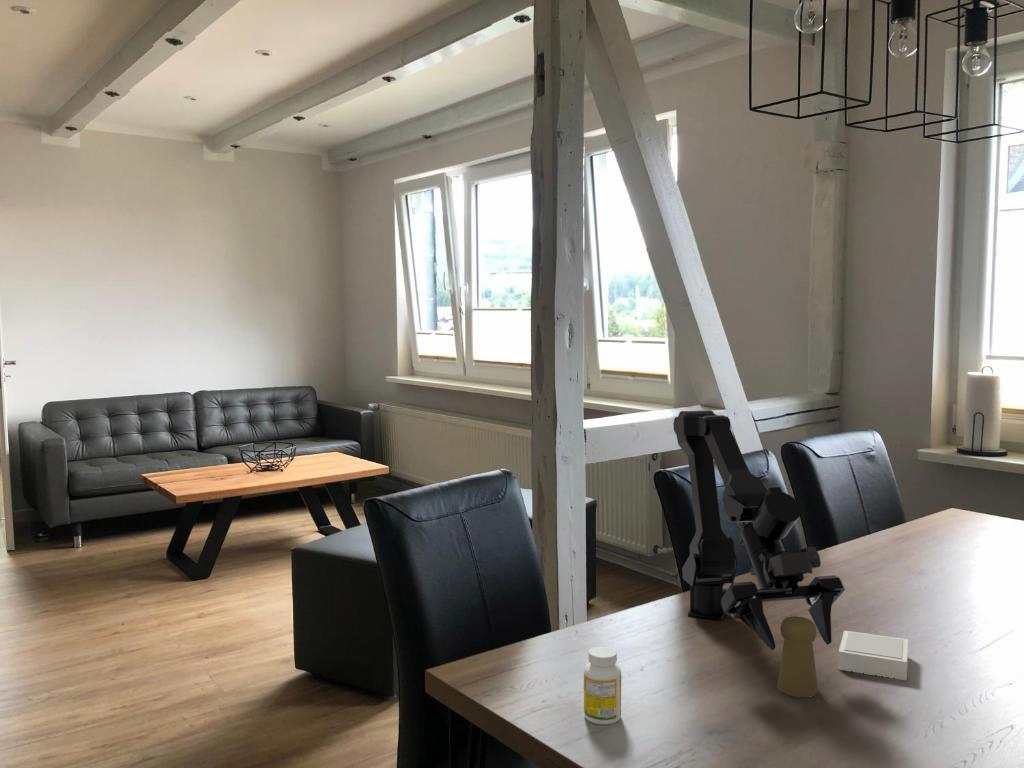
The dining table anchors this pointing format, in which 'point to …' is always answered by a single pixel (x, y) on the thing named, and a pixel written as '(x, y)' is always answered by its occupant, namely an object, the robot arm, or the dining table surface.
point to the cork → (798, 658)
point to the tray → (873, 655)
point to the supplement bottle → (602, 687)
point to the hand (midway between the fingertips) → (801, 646)
